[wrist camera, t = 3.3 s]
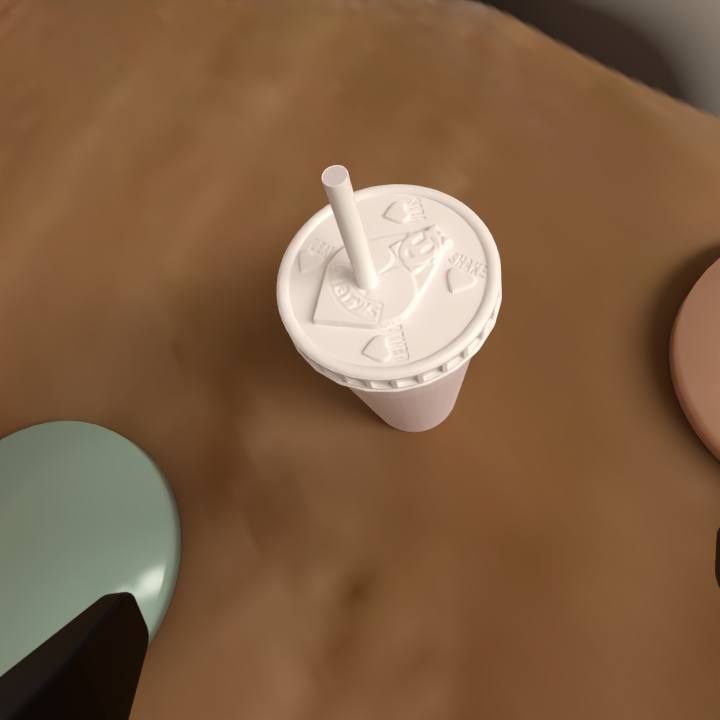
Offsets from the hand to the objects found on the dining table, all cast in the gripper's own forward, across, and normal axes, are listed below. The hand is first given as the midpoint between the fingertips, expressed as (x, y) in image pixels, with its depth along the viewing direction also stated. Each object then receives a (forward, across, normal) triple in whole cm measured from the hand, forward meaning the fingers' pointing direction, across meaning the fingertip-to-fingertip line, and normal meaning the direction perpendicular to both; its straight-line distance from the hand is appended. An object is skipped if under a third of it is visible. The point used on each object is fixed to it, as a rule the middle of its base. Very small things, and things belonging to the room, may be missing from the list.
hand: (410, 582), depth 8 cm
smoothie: (+16, 0, +4) cm, 16 cm away
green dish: (+12, +16, +8) cm, 22 cm away
